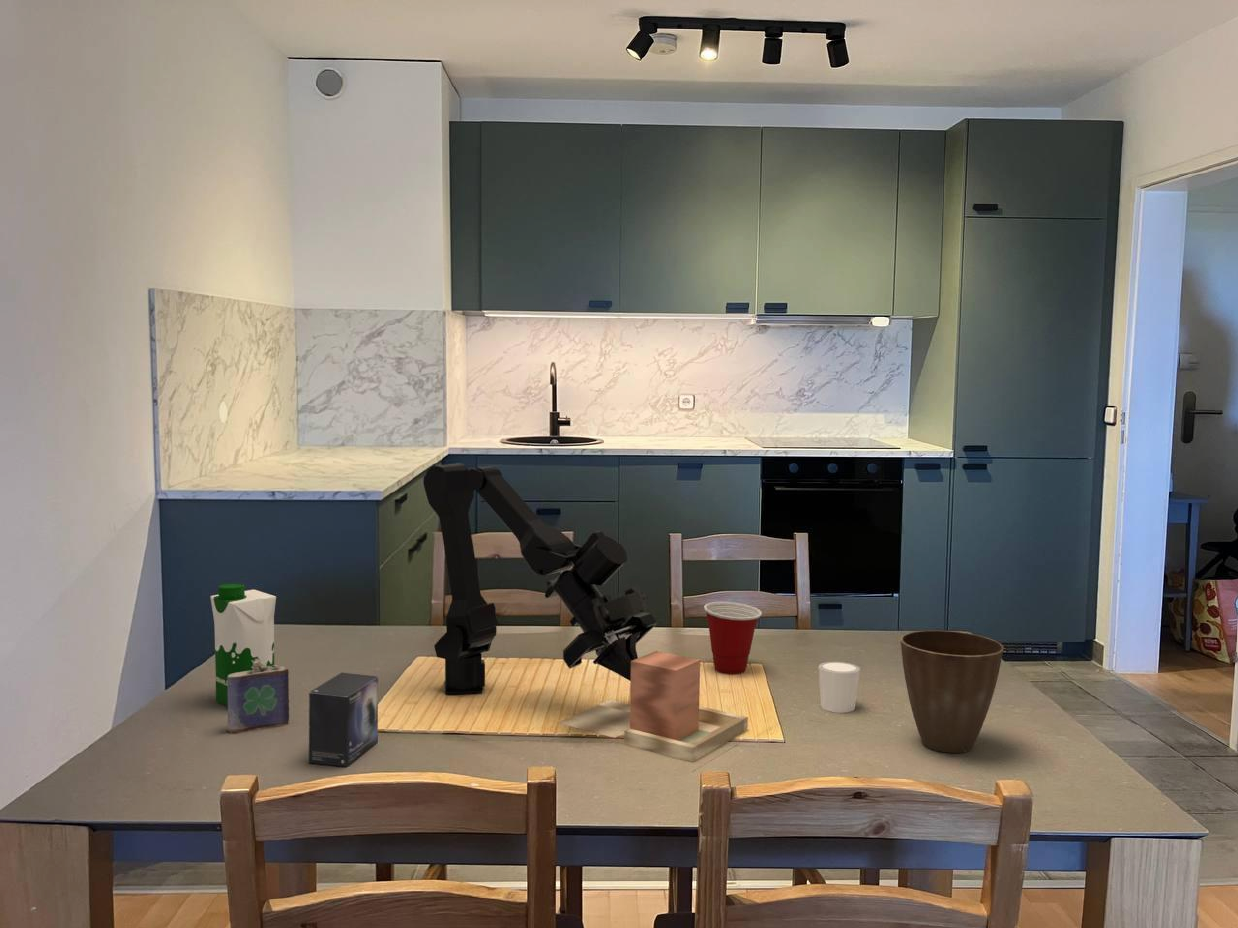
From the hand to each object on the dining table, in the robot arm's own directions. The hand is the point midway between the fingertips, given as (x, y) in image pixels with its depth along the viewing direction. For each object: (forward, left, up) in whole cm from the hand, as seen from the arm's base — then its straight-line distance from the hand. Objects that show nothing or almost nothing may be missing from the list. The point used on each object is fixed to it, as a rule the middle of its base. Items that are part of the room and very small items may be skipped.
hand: (641, 683), depth 164 cm
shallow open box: (+1, -1, -8) cm, 8 cm away
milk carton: (-62, +24, -8) cm, 68 cm away
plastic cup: (+24, +31, -8) cm, 40 cm away
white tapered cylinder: (+36, +8, -8) cm, 37 cm away
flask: (-58, +11, -8) cm, 60 cm away
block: (+3, -3, -7) cm, 8 cm away
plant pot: (+46, -11, -8) cm, 48 cm away
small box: (-44, -2, -8) cm, 45 cm away
